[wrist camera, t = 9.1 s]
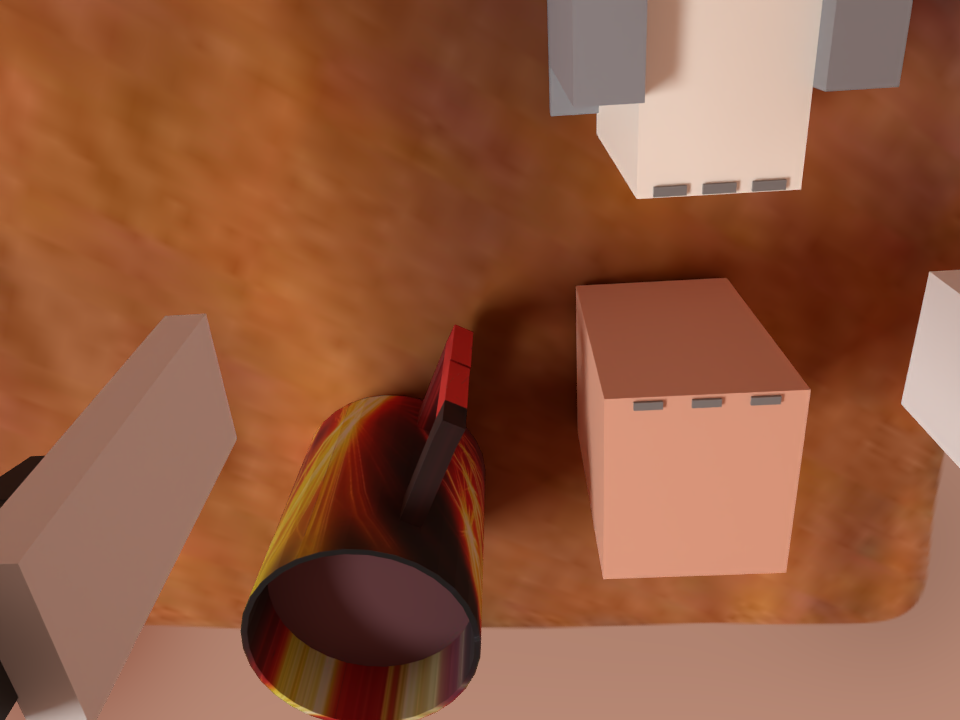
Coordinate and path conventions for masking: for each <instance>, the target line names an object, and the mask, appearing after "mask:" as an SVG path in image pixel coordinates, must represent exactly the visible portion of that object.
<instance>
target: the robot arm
mask: <svg viewBox="0 0 960 720" xmlns="http://www.w3.org/2000/svg"><path fill="white" fill-rule="evenodd" d="M901 404H902V405H903V406H904V407H905V408H906V410H907V411H908V412H909V413H910V414H911V415H912V416H913V417H914V418H915V419H916V421H917V422H918V423H919V424H920V425H921V426H922V427H923V428H924V429H925V430H926V432H927V433H928V434H929V435H930V436H931V437H932V438H933V439H934V440H935V441H936V443H937V444H938V445H939V446H940V447H941V448H942V449H943V450H944V451H945V452H946V454H947V455H948V456H949V457H950V458H951V459H952V460H953V461H954V462H955V463H956V464H957V466H958V467H959V468H960V270H947V271H930V272H929V275H928V280H927V285H926V290H925V294H924V299H923V304H922V308H921V313H920V318H919V322H918V327H917V332H916V336H915V341H914V346H913V350H912V355H911V360H910V365H909V369H908V374H907V379H906V383H905V388H904V393H903V397H902V402H901ZM236 440H237V437H236V433H235V429H234V425H233V421H232V417H231V413H230V409H229V405H228V401H227V397H226V393H225V389H224V385H223V381H222V377H221V373H220V369H219V365H218V361H217V357H216V353H215V349H214V344H213V340H212V336H211V332H210V328H209V324H208V320H207V316H206V314H194V315H176V316H165V317H164V318H163V319H162V320H161V321H160V323H159V324H158V325H157V326H156V327H155V328H154V330H153V331H152V332H151V333H150V334H149V335H148V337H147V338H146V339H145V340H144V341H143V342H142V344H141V345H140V346H139V347H138V348H137V349H136V351H135V352H134V353H133V354H132V355H131V356H130V358H129V359H128V360H127V361H126V362H125V363H124V365H123V366H122V367H121V368H120V369H119V370H118V372H117V373H116V374H115V375H114V376H113V377H112V379H111V380H110V381H109V382H108V383H107V384H106V386H105V387H104V388H103V389H102V390H101V391H100V393H99V394H98V395H97V396H96V397H95V398H94V400H93V401H92V402H91V403H90V404H89V405H88V407H87V408H86V409H85V410H84V411H83V412H82V414H81V415H80V416H79V417H78V418H77V419H76V421H75V422H74V423H73V424H72V425H71V426H70V428H69V429H68V430H67V431H66V432H65V433H64V435H63V436H62V437H61V438H60V439H59V440H58V442H57V443H56V444H55V445H54V446H53V447H52V449H51V450H50V451H49V452H48V453H47V454H46V456H31V457H29V458H28V459H26V460H25V461H23V462H22V463H20V464H19V465H17V466H16V467H14V468H13V469H11V470H10V471H8V472H7V473H5V474H4V475H2V476H1V477H0V720H5V719H6V717H7V715H8V714H9V712H10V710H11V709H12V707H13V706H14V704H15V702H16V701H17V702H18V704H19V706H20V708H21V710H22V713H23V714H24V717H25V718H26V720H97V718H98V716H99V714H100V712H101V710H102V708H103V706H104V704H105V702H106V700H107V698H108V696H109V694H110V692H111V690H112V688H113V686H114V684H115V682H116V680H117V678H118V676H119V674H120V672H121V670H122V668H123V666H124V664H125V662H126V660H127V658H128V656H129V654H130V652H131V650H132V648H133V646H134V644H135V642H136V640H137V638H138V636H139V634H140V632H141V630H142V628H143V626H144V624H145V622H146V620H147V618H148V616H149V614H150V612H151V610H152V608H153V606H154V604H155V602H156V600H157V598H158V596H159V594H160V592H161V590H162V588H163V586H164V584H165V582H166V580H167V578H168V576H169V574H170V572H171V570H172V568H173V566H174V564H175V562H176V560H177V558H178V556H179V554H180V552H181V550H182V548H183V546H184V544H185V542H186V540H187V538H188V536H189V534H190V532H191V530H192V528H193V526H194V524H195V522H196V520H197V518H198V516H199V514H200V512H201V510H202V508H203V506H204V504H205V502H206V500H207V498H208V496H209V494H210V492H211V490H212V488H213V486H214V484H215V482H216V480H217V478H218V476H219V474H220V472H221V470H222V468H223V466H224V464H225V462H226V460H227V458H228V456H229V454H230V452H231V450H232V448H233V446H234V444H235V442H236Z"/></svg>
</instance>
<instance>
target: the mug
mask: <svg viewBox="0 0 960 720" xmlns="http://www.w3.org/2000/svg"><path fill="white" fill-rule="evenodd" d="M472 343H473V332H472V331H469V330H467V329H465V328H462V327H460V326H457V325H454V327H453V329H452V332H451V334H450V336H449V338H448V340H447V342H446V345H445V347H444V350H443V352H442V355H441V357H440V360H439V362H438V365H437V368H436V370H435V373H434V375H433V378H432V380H431V383H430V385H429V388H428V390H427V393H426V395H425V398H424V400H421V399H417V398H412V397H407V396H396V395H382V396H375V397H368V398H364V399H361V400H358V401H355V402H352V403H350V404H348V405H346V406H344V407H343V408H341V409H339V410H337V411H336V412H334V413H333V414H332V415H331V416H330V417H329V418H328V419H327V420H325V421H324V422H323V423H322V425H321V426H320V428H319V429H318V430H317V432H316V433H315V435H314V437H313V439H312V442H311V444H310V446H309V449H308V451H307V454H306V456H305V459H304V461H303V464H302V466H301V469H300V471H299V474H298V476H297V479H296V481H295V484H294V486H293V489H292V491H291V494H290V496H289V499H288V501H287V504H286V507H285V509H284V512H283V514H282V517H281V519H280V522H279V524H278V527H277V529H276V532H275V534H274V537H273V539H272V542H271V544H270V547H269V549H268V552H267V554H266V557H265V559H264V562H263V564H262V567H261V569H260V572H259V574H258V577H257V579H256V582H255V584H254V587H253V589H252V592H251V594H250V597H249V599H248V602H247V604H246V607H245V609H244V612H243V616H242V624H241V636H242V644H243V649H244V651H245V654H246V657H247V659H248V661H249V664H250V666H251V667H252V669H253V670H254V671H255V673H256V675H257V676H258V678H259V679H260V680H261V682H262V683H264V684H265V685H266V686H267V687H268V688H269V689H270V690H271V691H272V692H273V693H274V694H275V695H276V696H278V697H279V698H281V699H282V700H283V701H285V702H286V703H288V704H289V705H291V706H292V707H294V708H296V709H298V710H300V711H302V712H304V713H307V714H309V715H311V716H313V717H316V718H320V719H323V720H419V719H421V718H424V717H426V716H429V715H431V714H433V713H436V712H438V711H439V710H440V709H442V708H444V707H445V706H447V705H448V704H450V703H451V702H453V701H454V700H455V699H456V698H457V697H458V696H459V695H460V694H461V693H462V692H463V691H464V690H465V689H466V687H467V686H468V684H469V683H470V681H471V679H472V678H473V676H474V674H475V672H476V669H477V666H478V662H479V659H480V650H481V618H482V579H483V540H484V501H485V465H484V460H483V455H482V453H481V451H480V448H479V446H478V444H477V442H476V440H475V438H474V437H473V436H472V434H471V433H470V432H469V430H468V429H467V428H466V417H467V403H468V389H469V374H470V368H471V357H472Z"/></svg>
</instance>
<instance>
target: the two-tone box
mask: <svg viewBox="0 0 960 720" xmlns="http://www.w3.org/2000/svg"><path fill="white" fill-rule="evenodd" d="M912 3H913V0H547V11H548V52H549V93H550V114H551V116H560V115H576V114H592V113H597V135H598V137H599V139H600V140H601V142H602V143H603V145H604V147H605V148H606V150H607V152H608V153H609V155H610V156H611V158H612V160H613V161H614V163H615V164H616V166H617V168H618V169H619V171H620V173H621V174H622V176H623V177H624V179H625V181H626V182H627V184H628V186H629V187H630V189H631V190H632V192H633V194H634V195H635V197H636V199H644V198H662V197H679V196H696V195H714V194H731V193H748V192H766V191H783V190H800V189H801V185H802V176H803V167H804V159H805V150H806V141H807V133H808V124H809V115H810V106H811V98H812V89H813V87H814V88H817V89H820V90H823V91H842V90H858V89H873V88H889V87H899V84H900V78H901V72H902V65H903V59H904V53H905V47H906V40H907V34H908V28H909V22H910V16H911V9H912Z"/></svg>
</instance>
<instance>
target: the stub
mask: <svg viewBox="0 0 960 720" xmlns="http://www.w3.org/2000/svg"><path fill="white" fill-rule="evenodd" d="M576 338H577V425H578V437H579V443H580V448H581V454H582V460H583V466H584V471H585V477H586V483H587V489H588V494H589V500H590V506H591V512H592V517H593V523H594V529H595V534H596V540H597V546H598V552H599V557H600V563H601V569H602V575H603V579H619V578H647V577H675V576H703V575H731V574H759V573H786V568H787V561H788V554H789V546H790V539H791V532H792V524H793V517H794V510H795V502H796V495H797V488H798V480H799V473H800V466H801V458H802V451H803V443H804V436H805V429H806V421H807V414H808V407H809V399H810V392H811V389H810V388H809V387H808V385H807V384H806V383H805V381H804V380H803V379H802V377H801V376H800V375H799V373H798V372H797V371H796V369H795V368H794V367H793V365H792V364H791V363H790V361H789V360H788V359H787V357H786V356H785V355H784V353H783V352H782V351H781V349H780V348H779V347H778V345H777V344H776V343H775V341H774V340H773V339H772V337H771V336H770V335H769V333H768V332H767V331H766V329H765V328H764V327H763V325H762V324H761V323H760V321H759V320H758V319H757V317H756V316H755V315H754V313H753V312H752V311H751V309H750V308H749V307H748V306H747V304H746V303H745V302H744V300H743V299H742V298H741V296H740V295H739V294H738V292H737V291H736V290H735V288H734V287H733V286H732V284H731V283H730V282H729V280H728V279H727V278H713V279H695V280H676V281H657V282H638V283H619V284H600V285H581V286H576Z"/></svg>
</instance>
